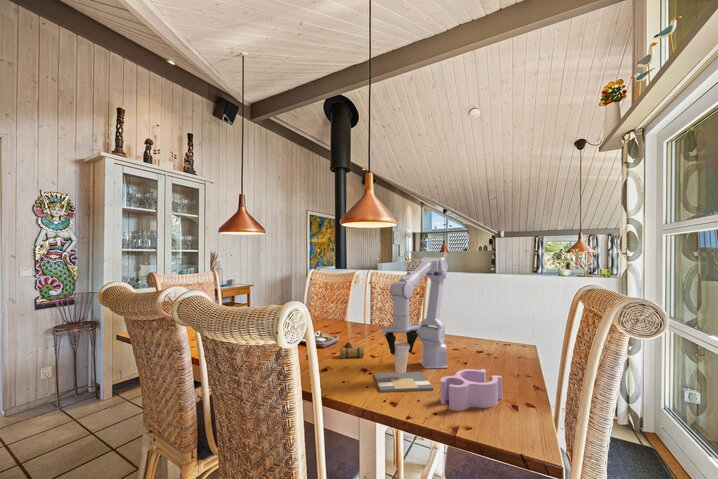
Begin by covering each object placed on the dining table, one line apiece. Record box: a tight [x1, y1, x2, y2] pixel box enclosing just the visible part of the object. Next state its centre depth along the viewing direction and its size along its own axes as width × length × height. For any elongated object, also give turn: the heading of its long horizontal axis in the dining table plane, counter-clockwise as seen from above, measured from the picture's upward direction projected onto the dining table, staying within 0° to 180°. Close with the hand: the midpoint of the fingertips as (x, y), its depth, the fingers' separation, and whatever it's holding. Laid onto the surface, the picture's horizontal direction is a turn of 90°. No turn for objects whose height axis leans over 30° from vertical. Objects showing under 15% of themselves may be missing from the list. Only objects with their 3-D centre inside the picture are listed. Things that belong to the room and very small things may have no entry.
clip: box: [440, 368, 503, 412], centre depth 100 cm, size 20×12×7 cm, turn 116°
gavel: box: [339, 341, 365, 359], centre depth 148 cm, size 21×5×10 cm
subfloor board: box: [373, 371, 434, 393], centre depth 112 cm, size 18×14×1 cm
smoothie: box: [393, 332, 410, 373], centre depth 114 cm, size 6×6×14 cm
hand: (401, 352), depth 114 cm, fingers closed on smoothie, 6 cm apart
